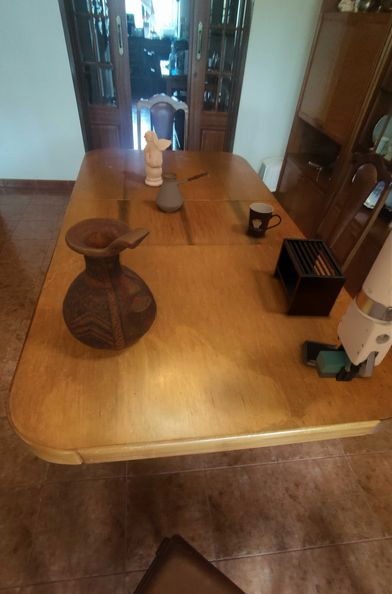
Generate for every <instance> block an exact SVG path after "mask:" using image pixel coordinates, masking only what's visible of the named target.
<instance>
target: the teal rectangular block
mask: <svg viewBox="0 0 392 594" xmlns="http://www.w3.org/2000/svg"><path fill="white" fill-rule="evenodd" d="M348 359H349V357H348V355H347V353H346V351H320V353H319V355H318V357H317V359H316V360H317V363H316V365H315V366H314V367H315V370H316V373H317V376H318V378H319V379H335V378H336V376H337V375H338V373H339V372H340V370H341V368H342V367H345V366H346V364H347V361H348ZM353 365H355V364H353ZM375 367H376V366H374V365H373V369H374V368H375ZM353 379H365V377H362V376H361V375H359V374H358V373H356V375H355V376H354V378H353Z"/></svg>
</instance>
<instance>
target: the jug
mask: <svg viewBox="0 0 392 594" xmlns="http://www.w3.org/2000/svg"><path fill="white" fill-rule="evenodd" d="M149 235H150V230H149V229H148V228H147V227H139V228H135V229H132V228H131V227H130V225H128V224H127V222H124V221H122V220H119V219H116V218H111V217H91V218H86V219H82V220H80V221H78V222H76V223H75V224H73V225H71V226H70V227H69V228H68V229H66V232H65V235H64V241H65V244H66V246H67V247H68V248H69V249H70V250H71V251H73V252H75V253H76V254H80V255H82V256H83V258H84V263H85V264H84V265H85V267H84V269H83V270H82V271H81V272H79V274H78V275H77V276H75V278H74V279H73V280H72V282H71V283H70V285H69V287H68V288H67V291H66V293H65V295H64V298H63V301H62V310H61V312H62V317H63V322H64V323H65V325H66V327H67V329H68V331H69V332H70V334H71V335H72V336H73V338H75V339H76V340H78V341H79V342H80V343H82V344H84V345H85V346H87V347H89V348H92V349H97V350H102V351H103V350H104V351H116V350H122V349H125V348H127V347H130V346H132V345H133V344H134V343H136V342H137V341H139V340H140V339H141V338H142V337H143V336H144V335H146V334H147V332H148V331H149V330H150V329H151V327H152V325H153V324H154V322H155V320H156V317H157V311H158V308H157V307H158V306H157V302H156V300H155V297H154V294H153V292H152V290H151V289H150V286H148V284H147V283H146V282H145V281H144V279H143V278H142V277H141V276H140V275H139V274H138V273H137V272H136V271H134V270H133V269H131V268H130V267H128V266H127V265H124V264H121V261H120V257H121V256H120V255H121V253H122V252H123V251H125V250H127V249H129V250H134V249H136V248H137V247H139V245H140V244H141V243H142V241H144V240H145V238H146V237H148V236H149Z"/></svg>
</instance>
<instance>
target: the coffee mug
mask: <svg viewBox="0 0 392 594" xmlns="http://www.w3.org/2000/svg"><path fill="white" fill-rule="evenodd" d="M274 210H275V209H274V207H273V205H270V204H268V203H264V202H253V203H251V204H250V205H249V212H248V213H249V216H248V227H247V228H248V229H247V234H248V236H249V237H252V238H256V239H260V238H264V237H265V234H266V232H267V230H270V229H273V228H275V227H277V226H279V225H280V224H281V223H282V217H281V215H279V214H277V213H276V214H273V213H274ZM274 217H277V218H279V222H278V223H276V224H274V225H271V226H269V224H270V220H272V219H273V218H274Z"/></svg>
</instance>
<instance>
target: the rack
mask: <svg viewBox="0 0 392 594" xmlns="http://www.w3.org/2000/svg"><path fill="white" fill-rule="evenodd" d="M323 255H324V256H323ZM319 256H320V258H319ZM325 258H326V259H325ZM320 259H321V260H320ZM326 260H327V261H326ZM322 262H323V263H322ZM327 262H328V263H327ZM323 264H324V265H323ZM328 264H329V265H330V266H329V265H328ZM319 266H320V267H319ZM325 267H326V268H325ZM330 267H331V268H330ZM320 268H321V269H320ZM326 269H327V270H326ZM331 269H332V270H331ZM321 270H322V271H323V273H324V274H323V273H322V271H321ZM327 271H328V272H329V274H328V272H327ZM272 276H273V278H280V280H281V282H282V285H283V288H284V290H285V293H286V296H287V299H288V302H289V305H288V308H287V310H286V315H287V316H298V317H299V316H300V317H329V316H330V314H331V312H332V310H333V308H334V306H335V304H336V302H337V299H338V297H339V295H340V293H341V291H342V290H343V288H344V285H345V283H346V282H347V279H348V278H347V276H346V275H345V273H344V272H343V271H342V269H341V267H340V265H339V264H338V262H337V261H336V259H335V258H334V256H333V255H332V253H331V252H330V250H329V248H328V246H327V245H326V242H325V241H324V239H315V238H296V237H295V238H293V237H283V240H282V243H281V246H280V249H279V253H278V257H277V261H276V264H275V268H274V271H273V274H272Z"/></svg>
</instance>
